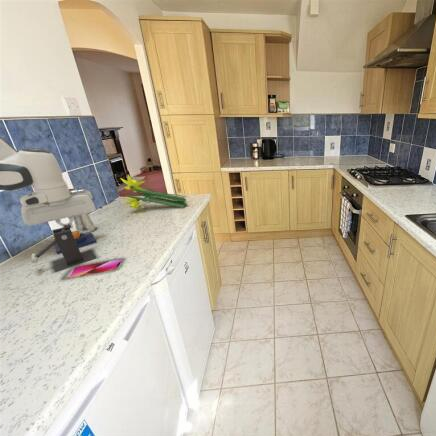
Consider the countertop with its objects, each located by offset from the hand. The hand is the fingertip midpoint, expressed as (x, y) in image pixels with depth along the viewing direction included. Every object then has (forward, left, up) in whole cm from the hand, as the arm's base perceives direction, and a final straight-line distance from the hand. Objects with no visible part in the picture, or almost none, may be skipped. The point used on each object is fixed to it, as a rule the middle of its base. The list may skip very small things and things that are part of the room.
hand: (68, 228), depth 94 cm
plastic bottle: (+5, +12, -8) cm, 15 cm away
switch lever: (-5, -15, 0) cm, 16 cm away
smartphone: (+2, -27, -8) cm, 28 cm away
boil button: (0, 0, -4) cm, 4 cm away
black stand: (-2, -15, -8) cm, 17 cm away
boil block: (0, 0, -8) cm, 8 cm away
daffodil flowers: (+39, +22, -8) cm, 45 cm away
